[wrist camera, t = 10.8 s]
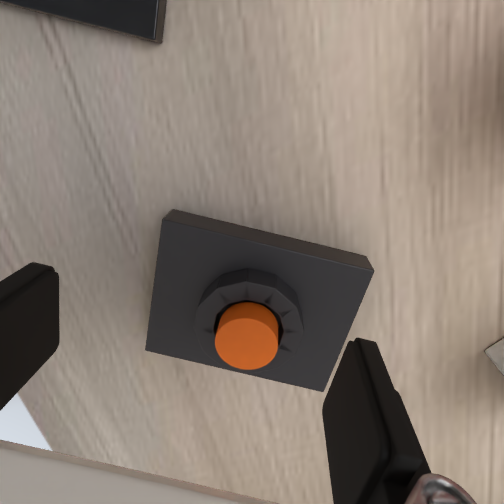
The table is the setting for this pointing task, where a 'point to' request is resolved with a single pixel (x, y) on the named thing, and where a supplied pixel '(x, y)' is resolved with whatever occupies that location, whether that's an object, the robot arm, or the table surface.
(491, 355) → the cosmetics box
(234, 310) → the button
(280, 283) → the button block
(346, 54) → the table surface
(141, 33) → the switch bracket
